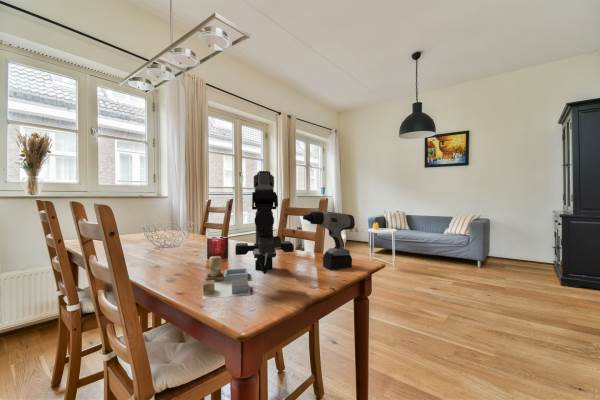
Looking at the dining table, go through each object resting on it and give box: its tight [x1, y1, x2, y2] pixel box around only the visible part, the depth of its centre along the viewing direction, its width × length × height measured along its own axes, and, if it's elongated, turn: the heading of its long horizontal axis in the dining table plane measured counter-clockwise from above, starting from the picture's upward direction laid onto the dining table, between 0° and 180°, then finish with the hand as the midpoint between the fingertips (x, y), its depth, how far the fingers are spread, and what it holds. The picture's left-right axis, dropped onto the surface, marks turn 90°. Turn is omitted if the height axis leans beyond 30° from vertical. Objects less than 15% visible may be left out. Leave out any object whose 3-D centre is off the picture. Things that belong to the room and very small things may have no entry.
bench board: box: [201, 273, 251, 300], centre depth 91 cm, size 14×25×1 cm, turn 14°
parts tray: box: [224, 267, 249, 281], centre depth 98 cm, size 8×8×2 cm
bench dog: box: [202, 280, 214, 296], centre depth 83 cm, size 3×4×3 cm
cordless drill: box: [302, 210, 356, 271], centre depth 115 cm, size 8×24×25 cm, turn 113°
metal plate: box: [232, 278, 249, 294], centre depth 85 cm, size 5×7×2 cm
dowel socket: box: [205, 271, 225, 282], centre depth 96 cm, size 6×6×2 cm
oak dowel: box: [209, 255, 222, 277], centre depth 96 cm, size 4×4×8 cm
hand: (264, 273), depth 87 cm, fingers closed
